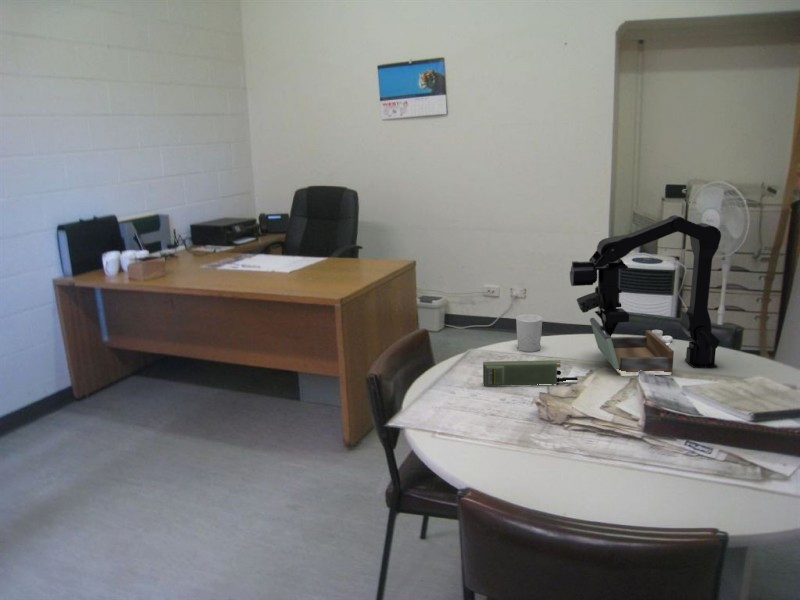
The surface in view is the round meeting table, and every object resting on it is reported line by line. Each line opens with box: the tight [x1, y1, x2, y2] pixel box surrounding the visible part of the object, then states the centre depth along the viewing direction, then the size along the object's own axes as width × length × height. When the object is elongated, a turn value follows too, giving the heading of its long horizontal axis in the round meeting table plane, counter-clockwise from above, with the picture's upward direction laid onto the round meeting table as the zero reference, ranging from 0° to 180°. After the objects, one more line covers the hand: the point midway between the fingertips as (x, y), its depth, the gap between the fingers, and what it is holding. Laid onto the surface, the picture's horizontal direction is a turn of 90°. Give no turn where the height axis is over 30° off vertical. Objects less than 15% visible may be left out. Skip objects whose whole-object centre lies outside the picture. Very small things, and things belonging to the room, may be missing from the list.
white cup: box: [515, 314, 543, 353], centre depth 193 cm, size 8×8×10 cm
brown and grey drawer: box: [611, 329, 675, 373], centre depth 178 cm, size 14×19×7 cm
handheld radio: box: [482, 359, 578, 387], centre depth 166 cm, size 7×3×25 cm
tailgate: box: [589, 317, 619, 371], centre depth 177 cm, size 2×18×10 cm, turn 176°
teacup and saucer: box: [651, 329, 674, 346], centre depth 196 cm, size 9×8×4 cm
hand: (607, 337), depth 177 cm, fingers closed, pressing on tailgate
